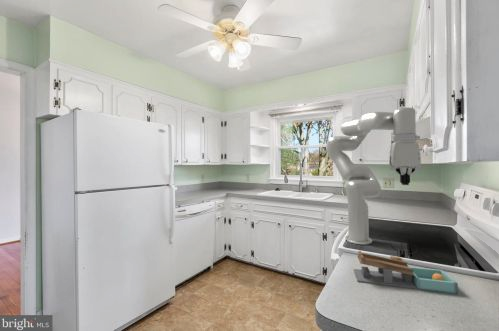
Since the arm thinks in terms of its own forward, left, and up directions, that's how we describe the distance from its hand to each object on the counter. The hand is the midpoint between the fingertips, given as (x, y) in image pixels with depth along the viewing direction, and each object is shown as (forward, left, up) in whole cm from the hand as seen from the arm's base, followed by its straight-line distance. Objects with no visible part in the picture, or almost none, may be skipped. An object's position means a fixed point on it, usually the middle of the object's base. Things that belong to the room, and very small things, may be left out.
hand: (405, 184), depth 94 cm
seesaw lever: (+15, -12, -28) cm, 33 cm away
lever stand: (+18, -12, -31) cm, 38 cm away
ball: (+18, +4, -29) cm, 34 cm away
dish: (+18, +1, -31) cm, 36 cm away
